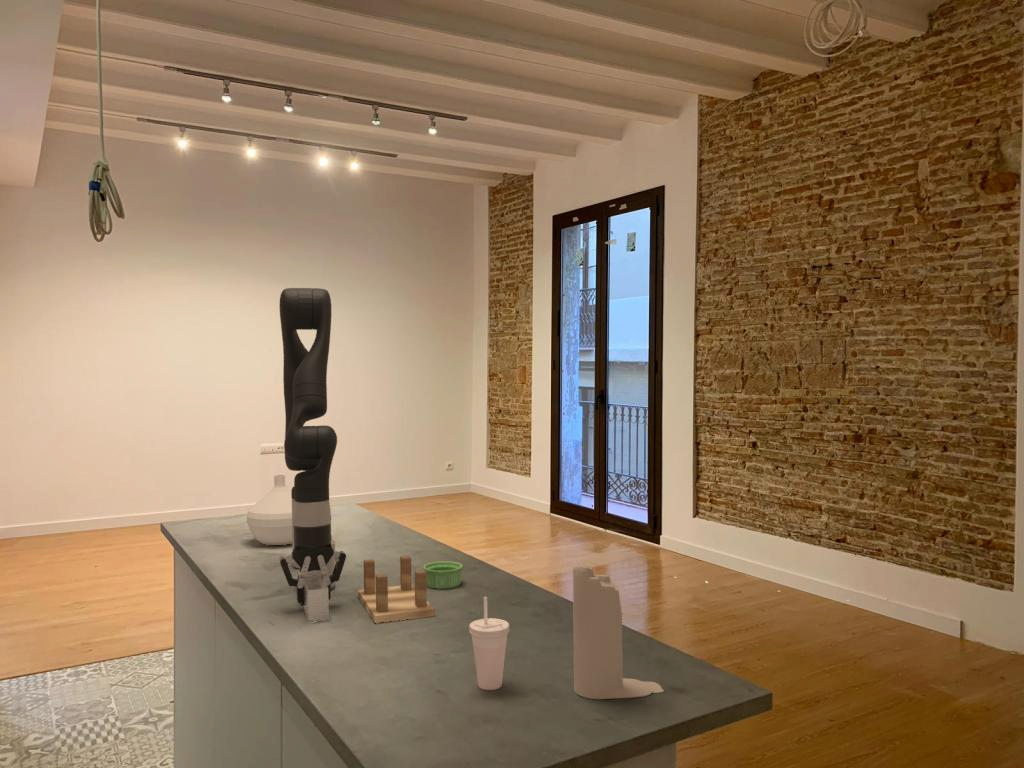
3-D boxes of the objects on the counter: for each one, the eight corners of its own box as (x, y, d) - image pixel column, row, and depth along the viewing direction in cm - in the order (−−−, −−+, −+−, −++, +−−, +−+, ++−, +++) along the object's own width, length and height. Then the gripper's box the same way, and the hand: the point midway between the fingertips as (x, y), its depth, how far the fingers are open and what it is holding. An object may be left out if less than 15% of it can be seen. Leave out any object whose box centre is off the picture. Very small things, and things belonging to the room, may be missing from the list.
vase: (327, 539, 231) (326, 473, 230) (277, 552, 215) (276, 482, 215) (283, 532, 241) (282, 469, 240) (233, 544, 225) (231, 477, 225)
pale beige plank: (300, 597, 174) (300, 568, 174) (319, 595, 175) (318, 566, 175) (308, 623, 157) (307, 590, 157) (328, 620, 158) (328, 588, 158)
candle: (668, 696, 121) (667, 566, 120) (578, 700, 120) (577, 568, 119) (656, 678, 128) (655, 554, 127) (570, 681, 127) (569, 557, 126)
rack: (357, 597, 174) (357, 558, 173) (411, 590, 178) (411, 553, 178) (375, 623, 156) (374, 580, 156) (434, 616, 160) (433, 574, 160)
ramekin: (470, 584, 183) (470, 565, 183) (441, 592, 177) (441, 573, 177) (444, 577, 190) (444, 559, 189) (415, 585, 183) (415, 566, 183)
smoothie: (469, 677, 129) (468, 592, 128) (508, 676, 129) (507, 590, 129) (470, 694, 122) (469, 604, 122) (512, 692, 123) (511, 602, 123)
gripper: (344, 515, 171) (345, 594, 172) (275, 521, 166) (276, 602, 167) (349, 522, 164) (351, 604, 165) (278, 528, 159) (279, 613, 160)
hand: (313, 603), depth 166 cm, fingers closed on pale beige plank, 4 cm apart
